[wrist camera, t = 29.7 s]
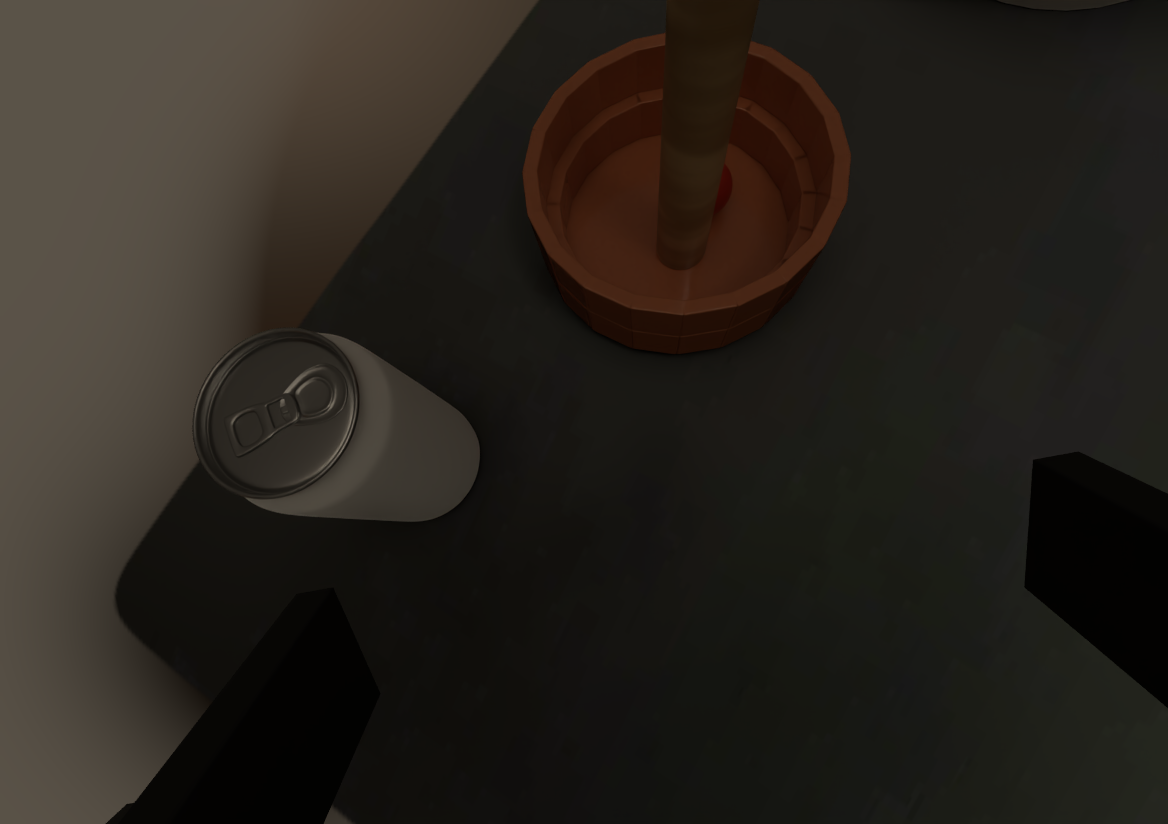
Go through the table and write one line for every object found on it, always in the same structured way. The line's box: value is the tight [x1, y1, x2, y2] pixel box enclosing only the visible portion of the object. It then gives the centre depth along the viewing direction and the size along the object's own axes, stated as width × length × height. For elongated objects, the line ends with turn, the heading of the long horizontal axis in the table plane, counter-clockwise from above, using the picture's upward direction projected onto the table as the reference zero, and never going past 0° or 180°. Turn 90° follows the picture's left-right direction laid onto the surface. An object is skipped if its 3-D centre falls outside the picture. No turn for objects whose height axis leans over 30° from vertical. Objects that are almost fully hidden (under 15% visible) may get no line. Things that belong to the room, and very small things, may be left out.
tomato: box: [713, 163, 733, 215], centre depth 28 cm, size 3×3×3 cm
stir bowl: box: [522, 33, 851, 354], centre depth 27 cm, size 14×14×6 cm
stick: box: [656, 0, 759, 270], centre depth 20 cm, size 3×3×18 cm
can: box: [193, 328, 480, 522], centre depth 23 cm, size 6×6×12 cm
